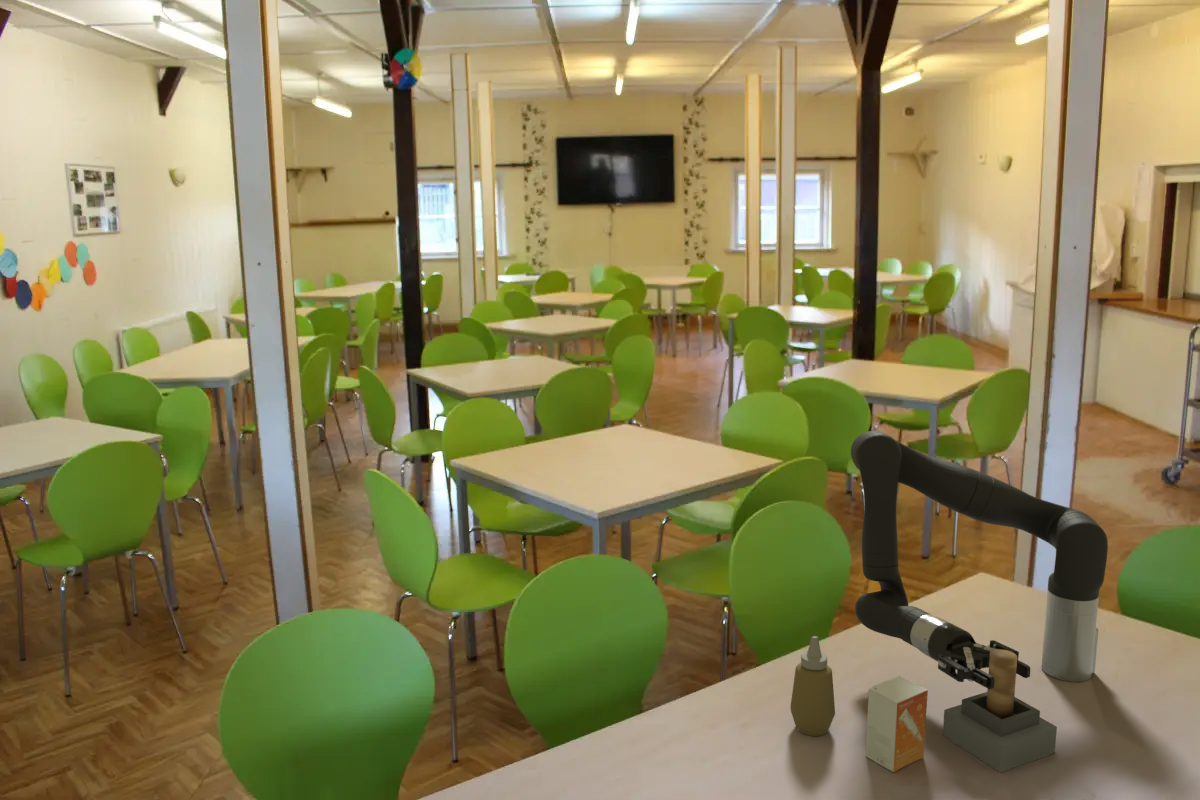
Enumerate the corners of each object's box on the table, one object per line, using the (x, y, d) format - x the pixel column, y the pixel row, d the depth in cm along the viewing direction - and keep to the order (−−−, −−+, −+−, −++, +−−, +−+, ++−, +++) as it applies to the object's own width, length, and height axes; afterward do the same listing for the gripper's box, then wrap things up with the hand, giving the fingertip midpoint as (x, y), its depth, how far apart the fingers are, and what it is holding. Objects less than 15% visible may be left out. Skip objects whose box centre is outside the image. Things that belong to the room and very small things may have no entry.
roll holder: (995, 717, 178) (998, 680, 177) (1054, 752, 167) (1058, 713, 165) (942, 735, 173) (945, 697, 171) (1000, 772, 161) (1002, 732, 160)
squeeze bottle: (836, 720, 178) (840, 630, 175) (832, 743, 171) (835, 650, 167) (793, 713, 181) (795, 625, 177) (786, 736, 174) (788, 644, 170)
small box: (893, 773, 162) (897, 703, 159) (864, 756, 167) (867, 687, 164) (925, 757, 166) (928, 689, 163) (895, 741, 171) (898, 674, 169)
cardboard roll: (998, 709, 172) (1002, 647, 169) (1018, 720, 168) (1022, 657, 165) (980, 715, 170) (984, 652, 167) (999, 726, 166) (1004, 663, 164)
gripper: (913, 630, 176) (982, 667, 162) (971, 614, 182) (1042, 649, 168) (911, 667, 178) (979, 707, 163) (968, 651, 184) (1039, 688, 169)
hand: (1011, 678), depth 165 cm, fingers open, 8 cm apart
